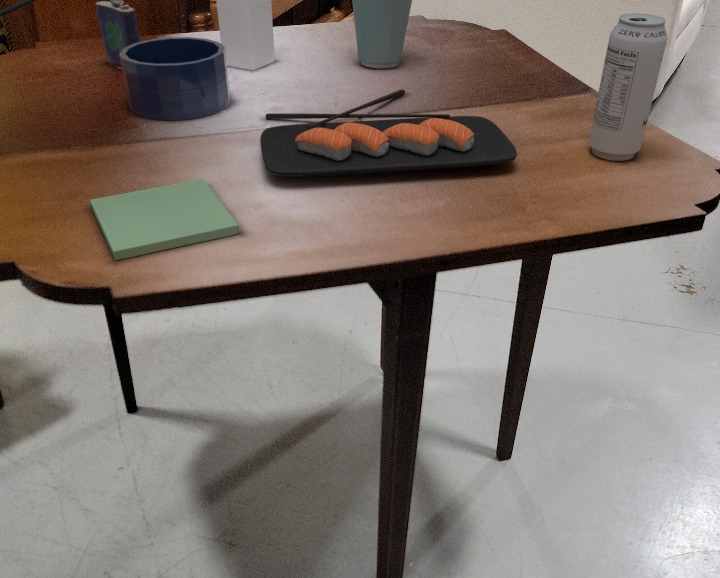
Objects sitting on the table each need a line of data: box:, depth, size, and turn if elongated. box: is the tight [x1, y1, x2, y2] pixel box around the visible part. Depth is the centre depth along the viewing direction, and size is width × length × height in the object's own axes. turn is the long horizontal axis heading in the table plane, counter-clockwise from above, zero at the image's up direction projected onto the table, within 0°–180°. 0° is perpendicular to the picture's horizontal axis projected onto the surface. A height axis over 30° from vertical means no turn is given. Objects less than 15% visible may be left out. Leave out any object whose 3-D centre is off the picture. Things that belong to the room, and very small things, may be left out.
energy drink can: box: [588, 12, 669, 162], centre depth 83 cm, size 6×6×15 cm
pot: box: [119, 36, 231, 121], centre depth 99 cm, size 14×14×7 cm
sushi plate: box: [259, 88, 518, 178], centre depth 91 cm, size 29×30×4 cm
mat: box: [89, 178, 240, 261], centre depth 73 cm, size 12×12×1 cm
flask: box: [94, 0, 142, 70], centre depth 111 cm, size 9×3×11 cm, turn 46°
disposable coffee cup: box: [351, 0, 413, 69], centre depth 112 cm, size 11×11×15 cm
